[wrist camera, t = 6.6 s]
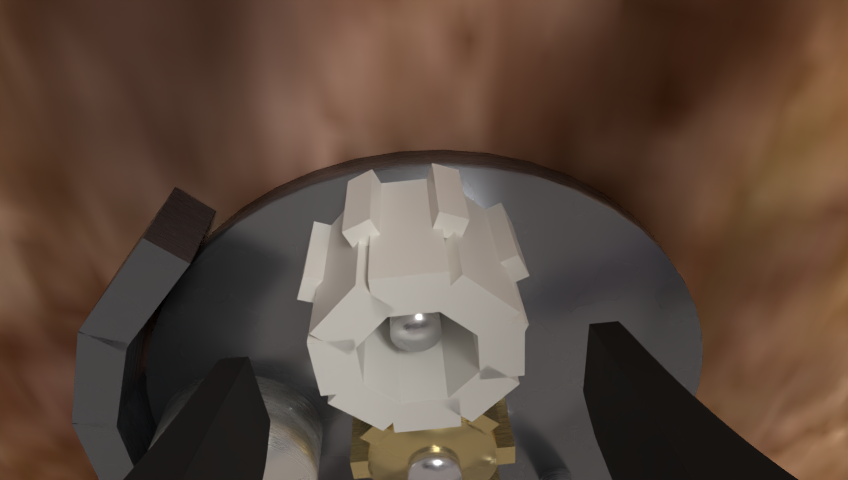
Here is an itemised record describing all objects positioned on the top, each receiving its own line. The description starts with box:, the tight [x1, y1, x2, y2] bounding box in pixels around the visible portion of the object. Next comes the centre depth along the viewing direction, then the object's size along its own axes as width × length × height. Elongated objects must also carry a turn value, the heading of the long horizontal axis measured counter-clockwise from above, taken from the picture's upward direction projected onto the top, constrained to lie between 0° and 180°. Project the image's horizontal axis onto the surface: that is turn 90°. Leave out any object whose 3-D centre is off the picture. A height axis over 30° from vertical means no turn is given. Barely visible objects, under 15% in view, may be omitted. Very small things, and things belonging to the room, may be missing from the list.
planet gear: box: [297, 163, 529, 433], centre depth 14 cm, size 5×5×4 cm
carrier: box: [72, 150, 703, 480], centre depth 19 cm, size 19×20×4 cm
